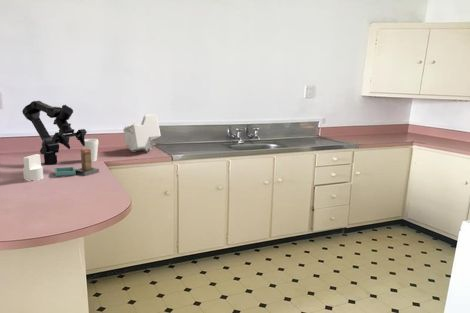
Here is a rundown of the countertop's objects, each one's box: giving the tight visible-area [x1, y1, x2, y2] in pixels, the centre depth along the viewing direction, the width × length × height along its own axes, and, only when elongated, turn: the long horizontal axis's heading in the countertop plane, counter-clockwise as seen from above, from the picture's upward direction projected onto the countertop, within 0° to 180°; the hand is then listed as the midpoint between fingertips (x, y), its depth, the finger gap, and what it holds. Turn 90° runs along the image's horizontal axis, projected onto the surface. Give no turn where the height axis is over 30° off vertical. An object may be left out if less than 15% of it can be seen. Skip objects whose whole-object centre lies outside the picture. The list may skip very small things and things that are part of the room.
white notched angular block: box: [122, 113, 162, 153], centre depth 267 cm, size 20×16×25 cm
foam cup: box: [82, 138, 99, 163], centre depth 239 cm, size 10×9×13 cm
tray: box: [54, 166, 76, 178], centre depth 209 cm, size 10×10×2 cm
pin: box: [80, 148, 93, 171], centre depth 211 cm, size 4×4×13 cm
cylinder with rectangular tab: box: [22, 153, 44, 181], centre depth 198 cm, size 9×9×12 cm
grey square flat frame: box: [75, 166, 100, 177], centre depth 213 cm, size 9×9×2 cm
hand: (77, 147), depth 214 cm, fingers open, 9 cm apart
